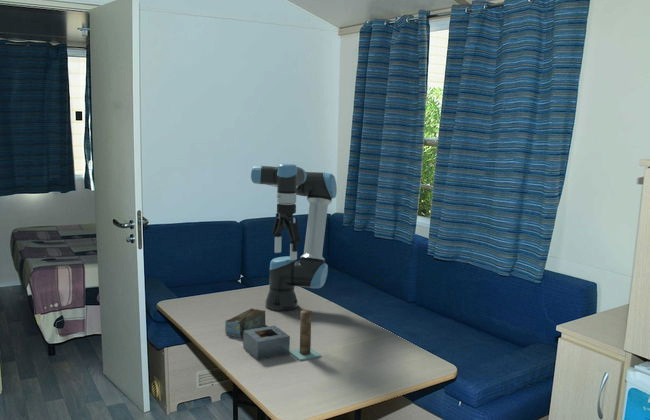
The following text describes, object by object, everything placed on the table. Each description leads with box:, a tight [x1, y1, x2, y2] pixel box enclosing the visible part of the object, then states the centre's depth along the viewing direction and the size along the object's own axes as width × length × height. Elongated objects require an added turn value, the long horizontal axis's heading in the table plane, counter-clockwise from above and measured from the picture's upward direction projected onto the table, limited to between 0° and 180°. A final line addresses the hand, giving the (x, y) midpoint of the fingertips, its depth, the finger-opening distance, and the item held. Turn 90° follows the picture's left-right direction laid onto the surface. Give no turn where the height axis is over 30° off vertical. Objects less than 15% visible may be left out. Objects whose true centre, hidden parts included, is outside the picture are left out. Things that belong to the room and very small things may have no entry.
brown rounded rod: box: [299, 309, 312, 355], centre depth 222 cm, size 4×4×16 cm
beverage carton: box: [224, 308, 266, 338], centre depth 248 cm, size 8×19×7 cm, turn 153°
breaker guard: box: [242, 325, 291, 361], centre depth 225 cm, size 13×13×7 cm
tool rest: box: [289, 347, 322, 362], centre depth 223 cm, size 9×9×1 cm
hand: (285, 256), depth 239 cm, fingers open, 13 cm apart
